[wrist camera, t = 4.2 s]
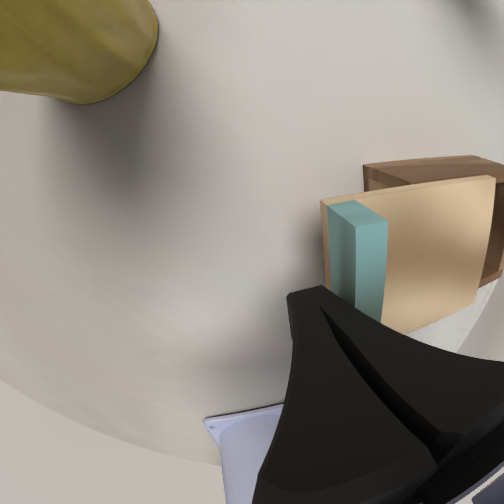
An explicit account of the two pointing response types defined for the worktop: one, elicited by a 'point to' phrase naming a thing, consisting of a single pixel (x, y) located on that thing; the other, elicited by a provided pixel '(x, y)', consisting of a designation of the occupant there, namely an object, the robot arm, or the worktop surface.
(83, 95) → the vase
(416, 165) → the box
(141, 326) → the worktop surface
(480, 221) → the tan panel teal strip
